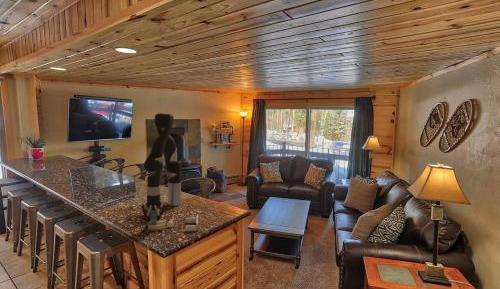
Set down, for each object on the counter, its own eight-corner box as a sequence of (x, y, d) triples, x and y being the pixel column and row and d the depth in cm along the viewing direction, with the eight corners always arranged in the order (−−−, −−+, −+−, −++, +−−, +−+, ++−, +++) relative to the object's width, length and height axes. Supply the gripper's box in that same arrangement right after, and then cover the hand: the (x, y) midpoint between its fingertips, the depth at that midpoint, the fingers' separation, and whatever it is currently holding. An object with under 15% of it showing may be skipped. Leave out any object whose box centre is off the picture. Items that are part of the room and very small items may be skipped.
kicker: (150, 224, 162) (150, 209, 161) (165, 223, 164) (165, 209, 162) (148, 229, 154) (147, 214, 153) (164, 229, 156) (164, 213, 155)
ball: (167, 225, 162) (167, 219, 161) (173, 225, 163) (174, 219, 162) (166, 228, 158) (166, 222, 157) (173, 228, 159) (173, 222, 158)
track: (147, 224, 162) (147, 221, 162) (180, 223, 166) (180, 220, 165) (144, 231, 153) (144, 227, 153) (178, 230, 157) (178, 226, 157)
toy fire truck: (164, 217, 174) (164, 202, 173) (146, 223, 165) (146, 207, 164) (158, 215, 179) (158, 200, 177) (140, 220, 169) (140, 204, 168)
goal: (186, 222, 168) (186, 215, 168) (198, 221, 170) (198, 215, 169) (185, 231, 156) (185, 223, 155) (197, 230, 157) (197, 223, 156)
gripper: (167, 191, 161) (167, 218, 163) (142, 191, 158) (142, 218, 160) (165, 194, 154) (165, 223, 156) (139, 195, 151) (139, 224, 153)
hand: (153, 220), depth 158 cm, fingers open, 4 cm apart
